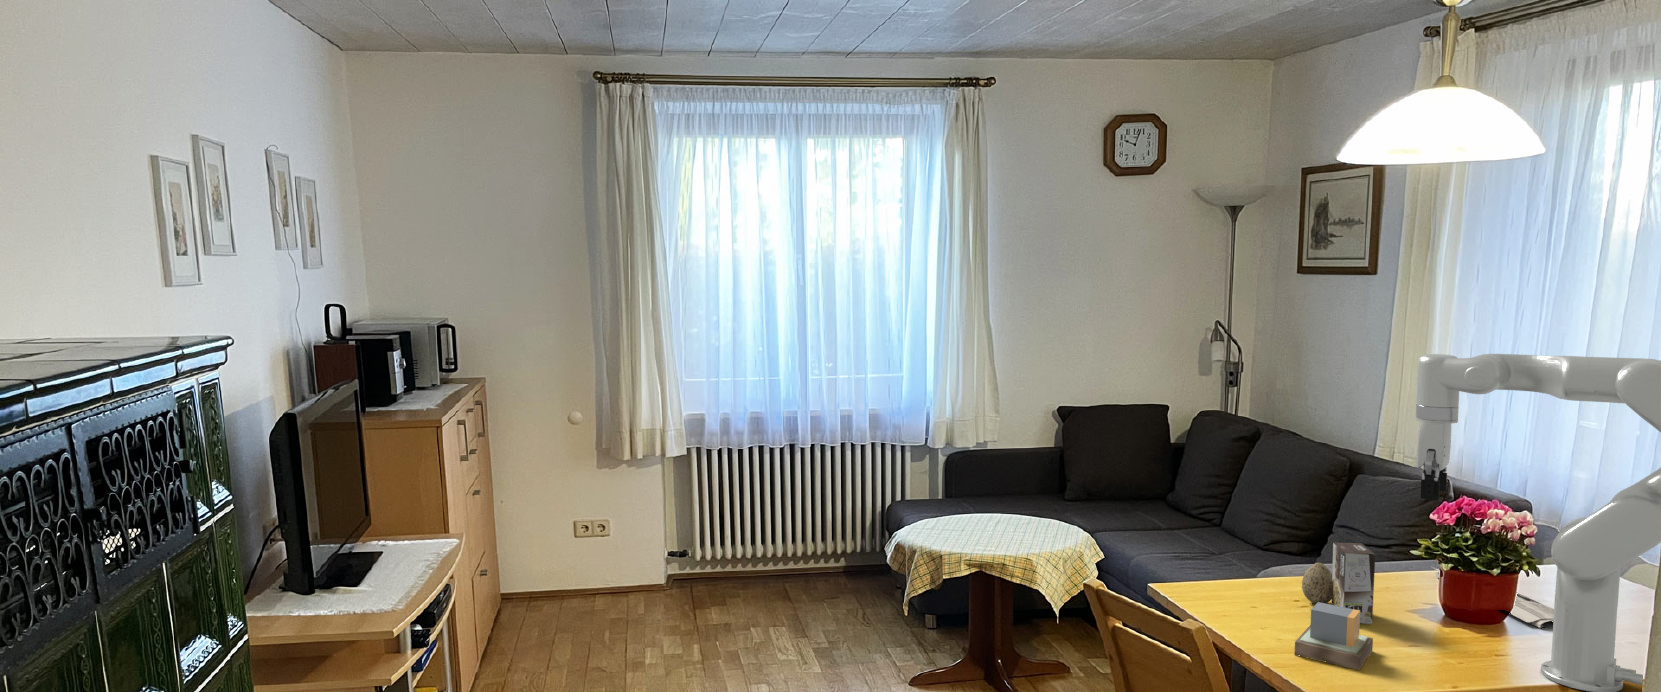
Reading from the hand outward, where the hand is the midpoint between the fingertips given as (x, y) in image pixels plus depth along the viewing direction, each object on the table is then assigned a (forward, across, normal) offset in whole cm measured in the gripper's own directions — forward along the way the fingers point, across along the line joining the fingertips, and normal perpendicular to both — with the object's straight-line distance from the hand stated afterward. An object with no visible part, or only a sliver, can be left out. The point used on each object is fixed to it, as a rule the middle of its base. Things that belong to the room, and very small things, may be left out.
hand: (1433, 494), depth 203 cm
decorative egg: (+32, -11, -24) cm, 42 cm away
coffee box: (+32, -7, -16) cm, 37 cm away
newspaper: (+33, -40, +9) cm, 52 cm away
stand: (+32, +18, -14) cm, 39 cm away
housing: (+29, +18, -14) cm, 37 cm away
